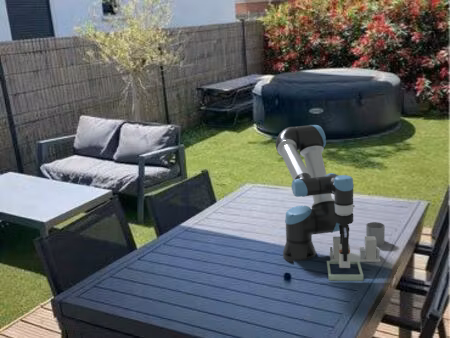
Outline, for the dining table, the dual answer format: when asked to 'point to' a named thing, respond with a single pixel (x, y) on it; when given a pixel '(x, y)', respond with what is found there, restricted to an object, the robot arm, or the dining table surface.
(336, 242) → the block
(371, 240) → the block
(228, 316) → the dining table surface
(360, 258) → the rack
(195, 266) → the dining table surface
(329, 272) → the tray
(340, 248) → the block
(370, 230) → the cup
